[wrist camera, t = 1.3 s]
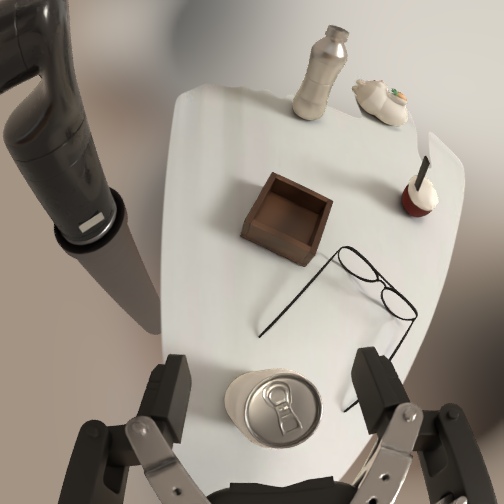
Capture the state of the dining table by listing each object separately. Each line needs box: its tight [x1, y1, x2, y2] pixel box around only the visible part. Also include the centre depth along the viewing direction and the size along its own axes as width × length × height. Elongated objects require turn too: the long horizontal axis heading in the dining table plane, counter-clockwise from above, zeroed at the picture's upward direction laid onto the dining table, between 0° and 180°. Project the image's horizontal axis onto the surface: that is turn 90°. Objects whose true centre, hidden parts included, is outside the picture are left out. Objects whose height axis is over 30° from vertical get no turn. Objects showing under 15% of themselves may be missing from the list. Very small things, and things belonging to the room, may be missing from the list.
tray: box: [240, 172, 333, 267], centre depth 36 cm, size 9×9×4 cm
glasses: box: [259, 246, 418, 412], centre depth 31 cm, size 14×15×5 cm
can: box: [224, 369, 323, 449], centre depth 22 cm, size 6×6×12 cm
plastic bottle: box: [293, 25, 349, 120], centre depth 42 cm, size 6×7×20 cm
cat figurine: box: [352, 80, 408, 126], centre depth 53 cm, size 10×8×15 cm
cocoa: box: [402, 156, 439, 217], centre depth 39 cm, size 10×6×12 cm, turn 69°
